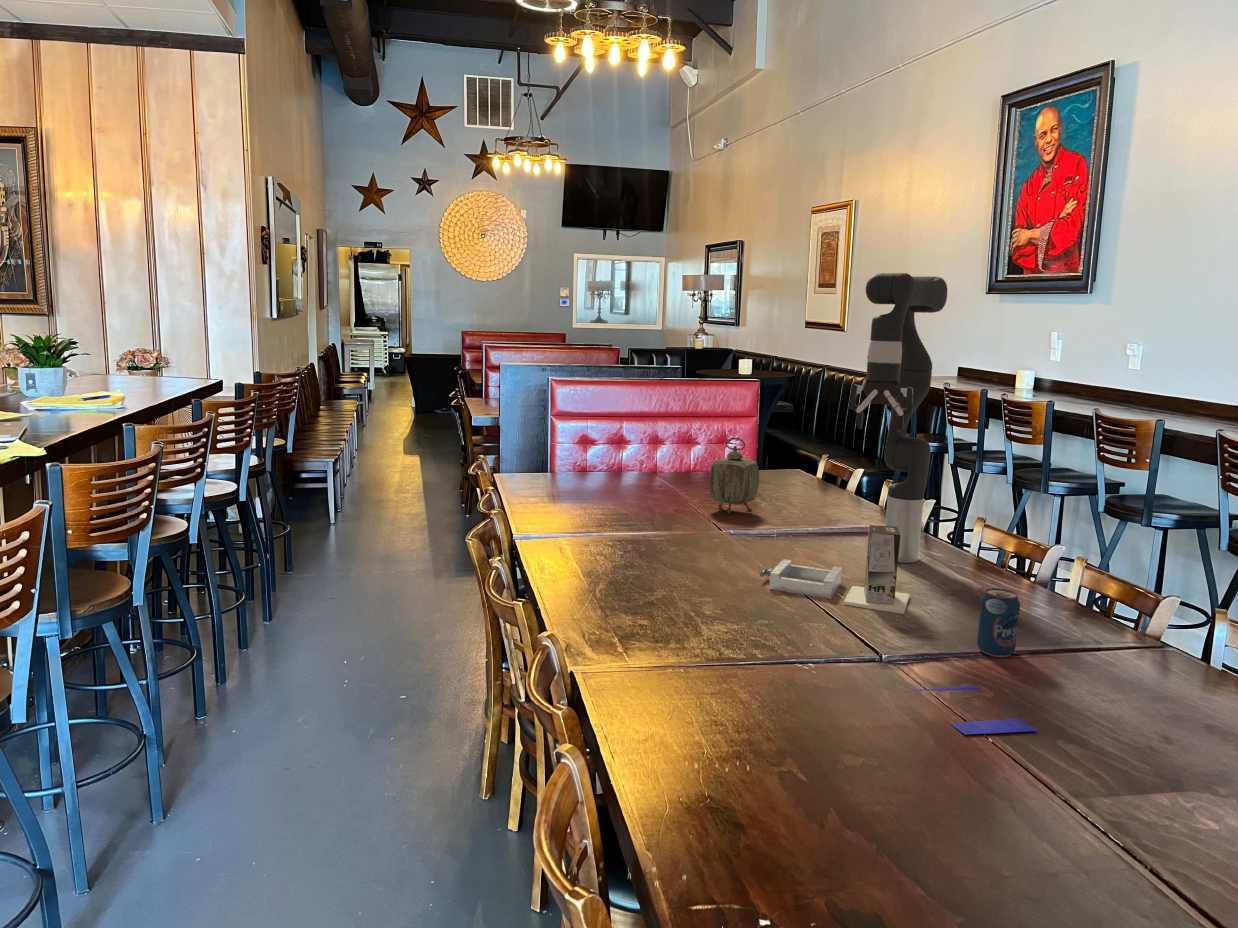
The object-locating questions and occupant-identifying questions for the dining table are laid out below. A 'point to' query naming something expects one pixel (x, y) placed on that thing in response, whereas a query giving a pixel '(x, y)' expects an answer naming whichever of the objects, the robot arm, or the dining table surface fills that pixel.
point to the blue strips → (986, 726)
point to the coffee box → (881, 564)
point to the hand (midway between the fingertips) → (878, 430)
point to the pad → (858, 599)
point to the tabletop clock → (734, 479)
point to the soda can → (998, 622)
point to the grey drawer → (804, 579)
